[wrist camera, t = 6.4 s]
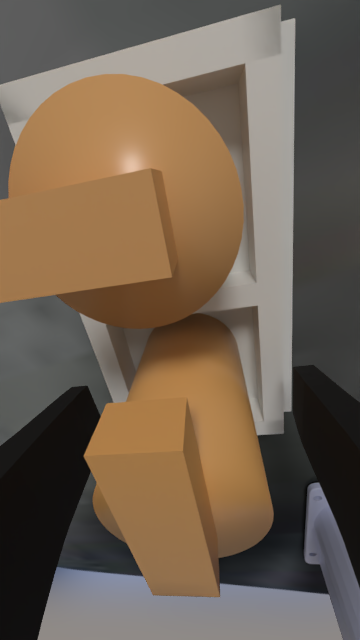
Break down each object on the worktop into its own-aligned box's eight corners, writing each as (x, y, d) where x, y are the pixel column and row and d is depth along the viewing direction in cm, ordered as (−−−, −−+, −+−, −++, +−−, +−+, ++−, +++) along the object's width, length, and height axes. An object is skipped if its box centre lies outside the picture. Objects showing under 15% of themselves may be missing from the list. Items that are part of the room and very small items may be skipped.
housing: (284, 393, 14) (354, 575, 7) (129, 405, 15) (74, 569, 9) (282, 40, 8) (634, -591, 1) (25, 108, 9) (-395, -68, 3)
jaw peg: (241, 385, 12) (286, 619, 6) (157, 392, 13) (108, 612, 6) (230, 271, 10) (285, 445, 3) (127, 287, 10) (0, 460, 4)
